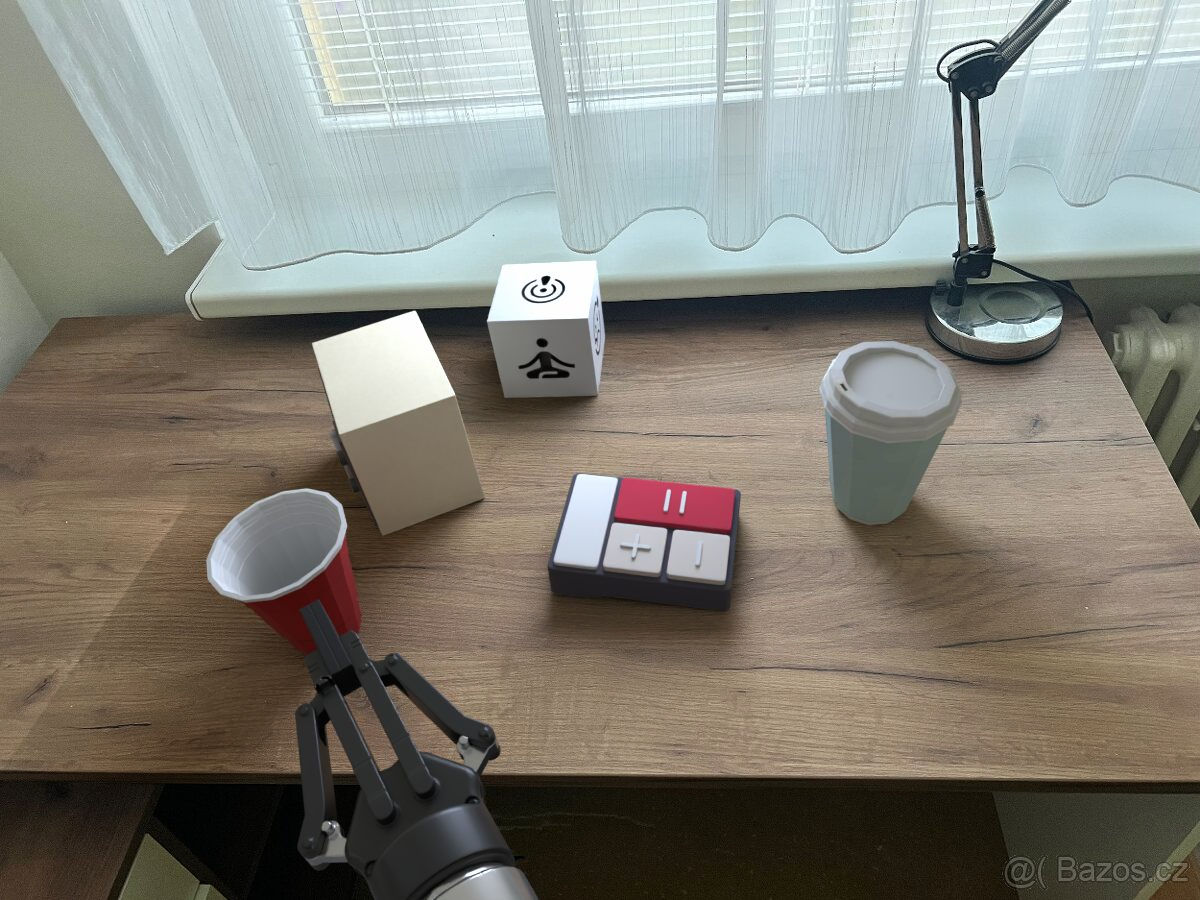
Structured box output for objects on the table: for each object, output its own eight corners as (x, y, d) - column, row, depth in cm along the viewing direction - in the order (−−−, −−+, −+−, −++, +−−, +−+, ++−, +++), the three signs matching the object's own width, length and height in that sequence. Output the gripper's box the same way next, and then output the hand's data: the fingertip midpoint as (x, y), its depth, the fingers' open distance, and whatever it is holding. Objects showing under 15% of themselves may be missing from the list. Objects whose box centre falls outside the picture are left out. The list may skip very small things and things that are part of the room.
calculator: (731, 585, 68) (545, 563, 71) (728, 617, 71) (549, 594, 74) (742, 483, 76) (573, 465, 78) (738, 515, 79) (576, 497, 81)
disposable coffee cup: (894, 446, 82) (919, 316, 72) (959, 528, 75) (997, 397, 64) (789, 476, 81) (799, 349, 70) (845, 564, 73) (865, 435, 63)
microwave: (372, 540, 80) (327, 438, 71) (343, 446, 90) (300, 346, 81) (485, 498, 83) (455, 395, 74) (445, 411, 92) (415, 310, 83)
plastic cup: (295, 570, 79) (244, 479, 70) (407, 582, 76) (368, 489, 68) (238, 677, 71) (173, 589, 63) (359, 693, 69) (309, 604, 61)
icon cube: (518, 339, 100) (502, 264, 93) (605, 336, 99) (596, 260, 92) (504, 397, 93) (486, 321, 86) (598, 395, 92) (587, 318, 85)
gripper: (369, 1002, 48) (248, 691, 63) (569, 860, 52) (411, 600, 67) (324, 961, 43) (204, 632, 58) (551, 807, 47) (384, 538, 62)
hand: (315, 615), depth 63 cm, fingers closed
